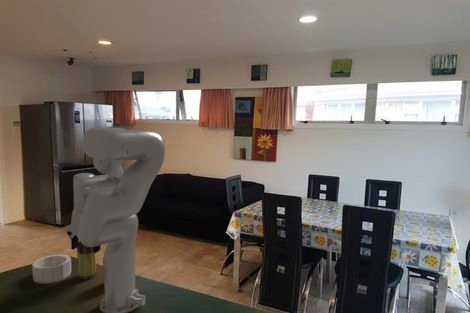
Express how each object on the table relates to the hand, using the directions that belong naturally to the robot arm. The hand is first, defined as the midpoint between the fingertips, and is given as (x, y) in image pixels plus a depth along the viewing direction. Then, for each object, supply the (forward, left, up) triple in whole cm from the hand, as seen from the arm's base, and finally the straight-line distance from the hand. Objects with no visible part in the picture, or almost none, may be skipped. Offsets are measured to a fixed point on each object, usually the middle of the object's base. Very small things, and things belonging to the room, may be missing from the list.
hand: (86, 249), depth 122 cm
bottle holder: (+13, +3, -11) cm, 17 cm away
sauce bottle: (0, 0, -11) cm, 11 cm away
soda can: (-13, +2, -11) cm, 17 cm away
